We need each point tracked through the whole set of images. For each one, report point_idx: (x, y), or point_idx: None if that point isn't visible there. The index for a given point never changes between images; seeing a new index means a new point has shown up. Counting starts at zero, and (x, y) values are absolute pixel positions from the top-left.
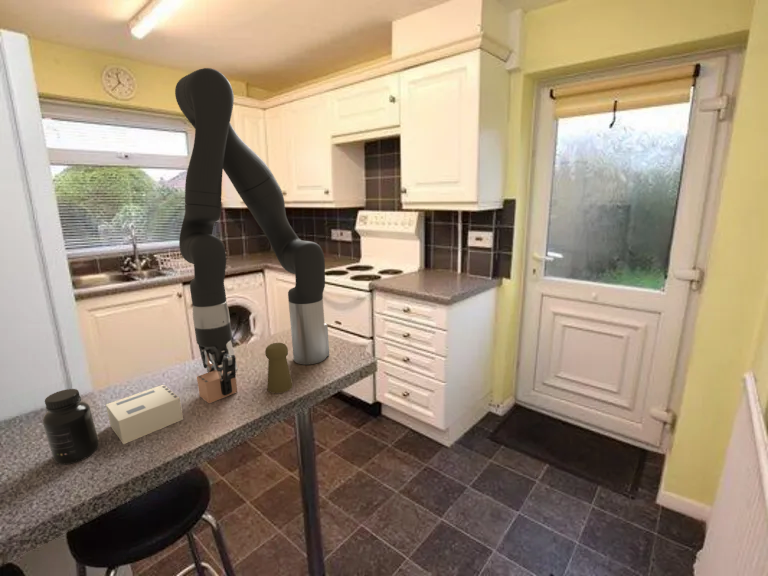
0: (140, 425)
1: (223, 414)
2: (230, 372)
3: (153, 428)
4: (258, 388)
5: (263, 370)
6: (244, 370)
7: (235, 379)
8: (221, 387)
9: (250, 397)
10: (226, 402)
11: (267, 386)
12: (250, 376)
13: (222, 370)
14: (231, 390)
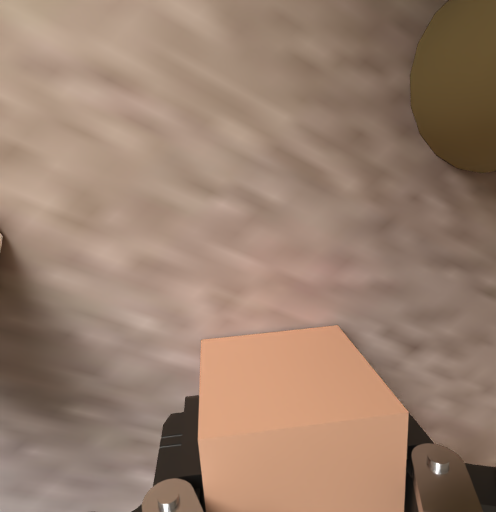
0: None
1: (486, 450)
2: (475, 493)
3: None
4: (393, 203)
5: (140, 16)
6: (22, 143)
7: (377, 377)
8: None
9: (452, 290)
10: None
11: (457, 158)
12: (174, 159)
13: (271, 482)
14: None
